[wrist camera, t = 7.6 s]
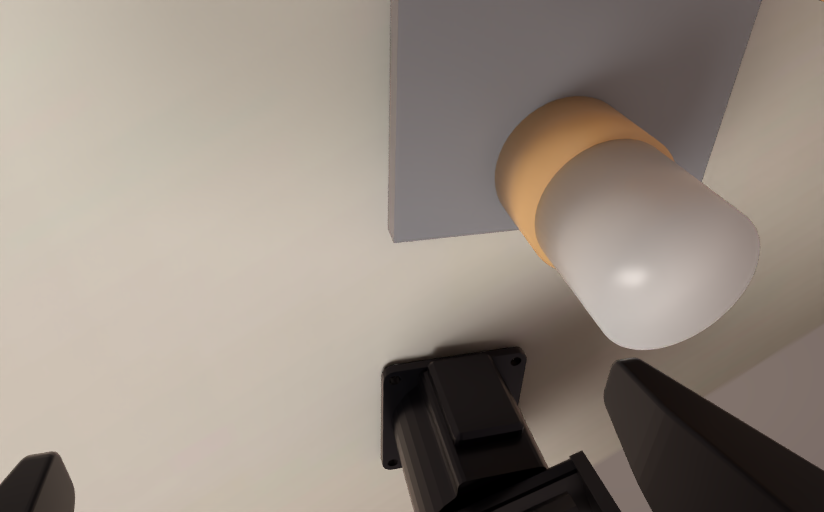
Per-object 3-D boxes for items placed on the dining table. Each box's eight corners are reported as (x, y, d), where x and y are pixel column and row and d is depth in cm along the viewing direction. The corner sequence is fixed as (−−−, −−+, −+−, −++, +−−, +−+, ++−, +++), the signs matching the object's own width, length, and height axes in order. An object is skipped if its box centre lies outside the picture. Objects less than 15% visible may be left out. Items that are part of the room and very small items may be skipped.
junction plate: (676, 199, 25) (829, 325, 19) (387, 228, 23) (451, 387, 16) (845, -340, 16) (1251, -449, 10) (395, -393, 14) (545, -591, 7)
